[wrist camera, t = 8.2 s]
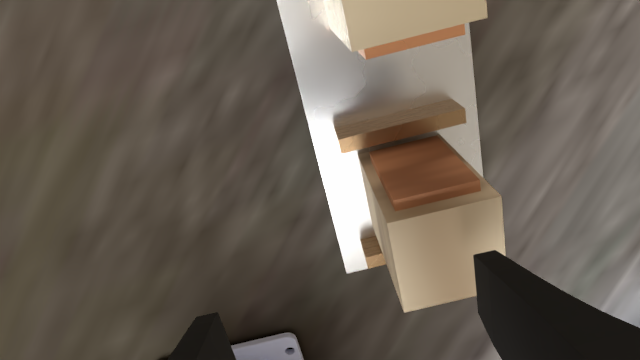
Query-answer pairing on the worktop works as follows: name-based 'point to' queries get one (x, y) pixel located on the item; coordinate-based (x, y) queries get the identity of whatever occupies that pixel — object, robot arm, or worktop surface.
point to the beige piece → (380, 92)
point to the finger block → (430, 219)
